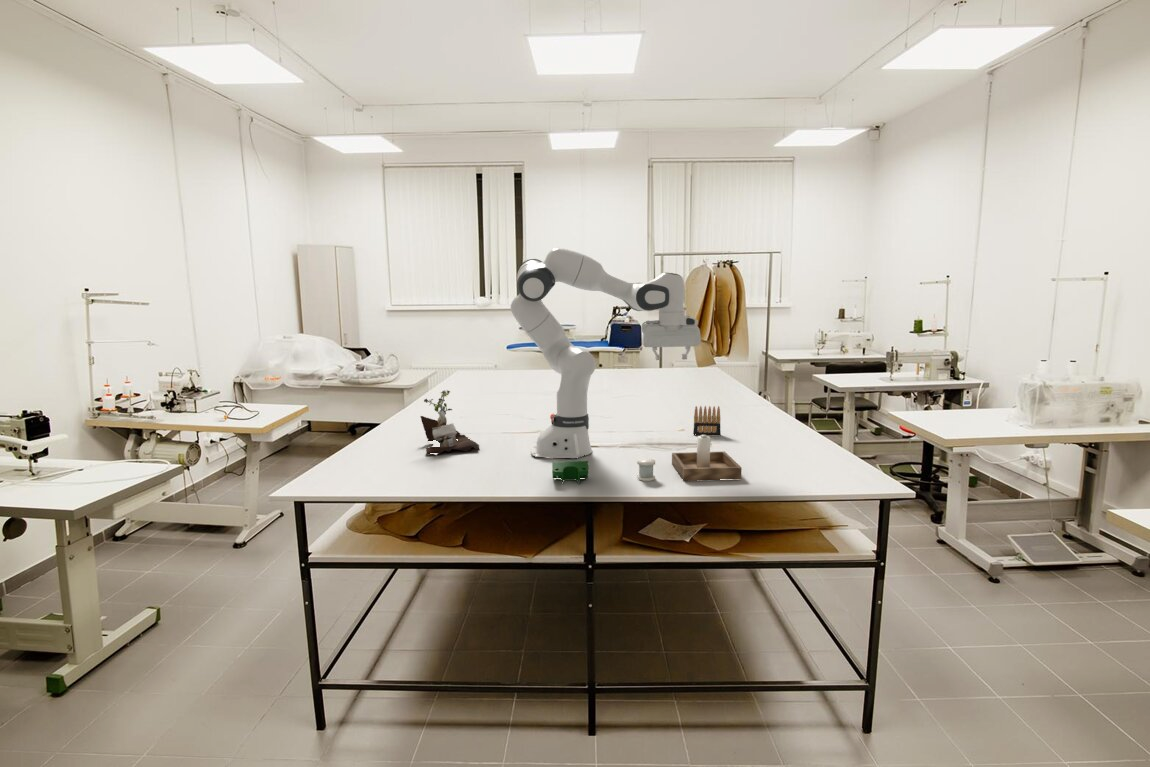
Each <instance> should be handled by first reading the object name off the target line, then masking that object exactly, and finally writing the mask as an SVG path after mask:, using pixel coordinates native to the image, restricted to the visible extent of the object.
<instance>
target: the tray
mask: <svg viewBox="0 0 1150 767" xmlns="http://www.w3.org/2000/svg"><path fill="white" fill-rule="evenodd" d="M671 465H672V467H673V468H674V470H675V471H676V473H677V472H678V473H677V475H678V476H679V475H680V476H679V477H680V479H681V480H682V479H683V480H682V482H684V481H686V482H698V481H697V480H720V479H741V480H742V470H743V468H742V466H741V465H739V464H738V463H737V462H736V461H735V459H733V458H732V457H731V456H730V455H729V454H728V453H727V452H726V451H725V450H724V451H710V467H706V468H697V451H695V452H693V451H692V452H687V451H686V452H671Z"/></svg>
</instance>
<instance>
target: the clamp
mask: <svg viewBox="0 0 1150 767" xmlns="http://www.w3.org/2000/svg"><path fill="white" fill-rule="evenodd" d="M551 463H552V464H551V467H552V468H551V470H552V474H551V475H552V479H553V478H561V479H562V480H561V483H562V482H563V480H565V479H576V480H575V481H577V480H578V481H577V483H578V482H580V481H581V480H580V478H587V479H588V477H589V468H590V467H589V461H588V460H583V461H582V460H579V461H578V460H576V461H572V460H571V461H552V462H551ZM565 481H566V480H565ZM563 483H564V482H563ZM580 483H581V482H580Z"/></svg>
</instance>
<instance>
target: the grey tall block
mask: <svg viewBox="0 0 1150 767" xmlns="http://www.w3.org/2000/svg"><path fill="white" fill-rule="evenodd" d="M696 452H697V468H706V467H710V452H711V436H707V435H697V436H696Z"/></svg>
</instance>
